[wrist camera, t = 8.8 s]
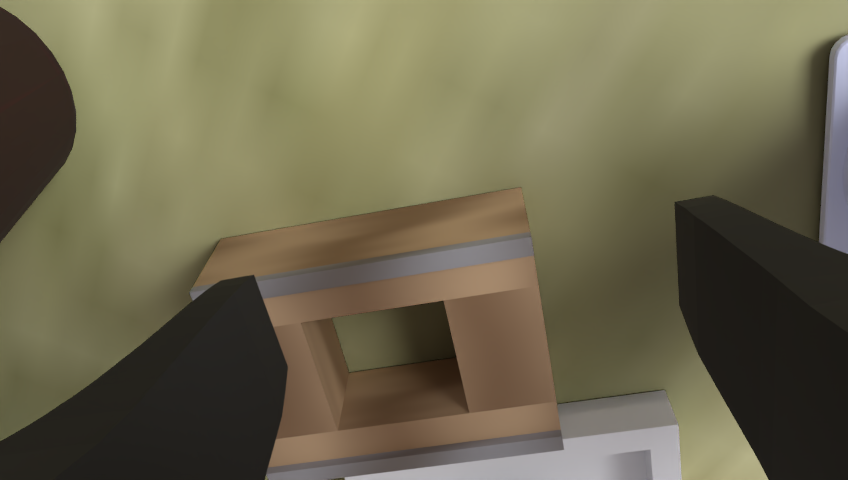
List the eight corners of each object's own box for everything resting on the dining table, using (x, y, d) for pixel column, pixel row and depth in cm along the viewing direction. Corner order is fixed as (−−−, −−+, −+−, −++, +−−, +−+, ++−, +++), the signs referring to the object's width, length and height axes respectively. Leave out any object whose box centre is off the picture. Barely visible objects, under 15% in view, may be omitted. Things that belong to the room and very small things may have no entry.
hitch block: (521, 187, 23) (531, 236, 20) (551, 383, 26) (564, 449, 24) (220, 238, 24) (188, 292, 21) (290, 419, 28) (271, 486, 25)
